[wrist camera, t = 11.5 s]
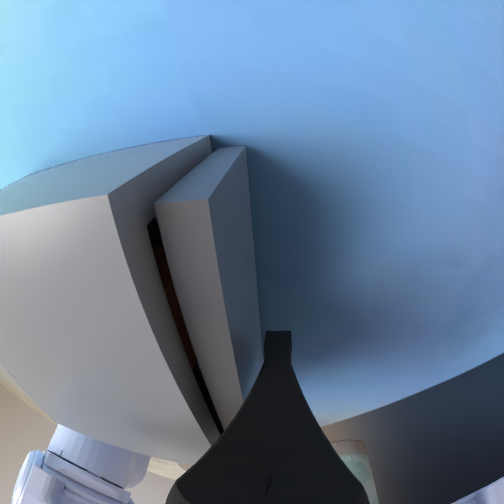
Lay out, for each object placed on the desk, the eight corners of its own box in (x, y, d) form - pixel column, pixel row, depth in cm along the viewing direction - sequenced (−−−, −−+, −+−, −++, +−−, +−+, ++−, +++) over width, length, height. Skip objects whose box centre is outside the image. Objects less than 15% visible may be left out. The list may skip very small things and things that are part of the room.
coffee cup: (391, 434, 22) (402, 528, 12) (347, 459, 27) (350, 538, 16) (327, 432, 22) (329, 544, 11) (288, 456, 26) (283, 544, 15)
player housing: (241, 362, 16) (226, 469, 10) (96, 347, 18) (56, 422, 11) (209, 134, 10) (107, 194, 4) (25, 176, 11) (-69, 236, 5)
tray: (263, 362, 16) (255, 455, 11) (105, 348, 17) (71, 415, 12) (245, 145, 10) (207, 199, 5) (37, 182, 11) (-46, 235, 6)
